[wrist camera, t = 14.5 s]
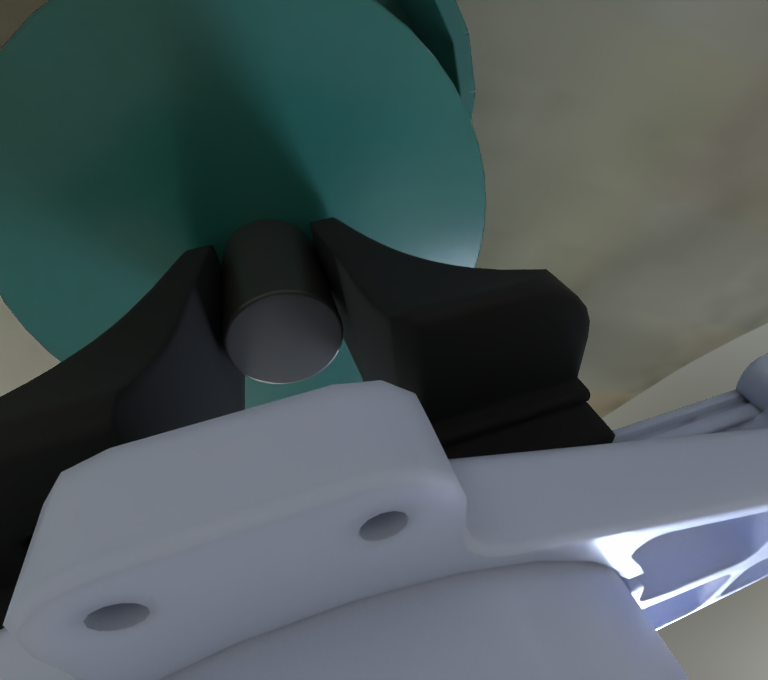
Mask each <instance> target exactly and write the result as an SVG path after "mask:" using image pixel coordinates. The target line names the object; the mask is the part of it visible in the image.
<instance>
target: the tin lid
mask: <svg viewBox="0 0 768 680" xmlns="http://www.w3.org/2000/svg"><path fill="white" fill-rule="evenodd" d="M485 208H486V195H485V177H484V170H483V164H482V159H481V154H480V148H479V144H478V141H477V138H476V135H475V132H474V129H473V126H472V123H471V120H470V117H469V114H468V112H467V110H466V108H465V106H464V104H463V102H462V100H461V98H460V96H459V94H458V92H457V90H456V88H455V85H454V84H453V82H452V81H451V79H450V78H449V76H448V75H447V73H446V72H445V71H444V69H443V68H442V66H441V65H440V63H439V62H438V60H437V59H436V57H435V56H434V55H433V53H432V52H431V51H430V50H429V49H428V48H427V47H426V46H425V45H424V44H423V42H422V41H421V40H420V39H419V38H418V37H417V36H416V35H415V34H414V33H413V31H412V30H411V29H410V28H409V27H408V26H407V25H405V24H404V23H403V22H402V21H401V20H399V19H398V18H397V17H396V16H395V15H393V14H392V13H391V12H390V11H388V10H387V9H386V8H385V7H384V6H382V5H381V4H380V3H379V2H378V1H376V0H49V1H48V2H46V3H45V4H44V5H43V6H41V7H40V8H39V9H37V10H36V11H35V12H33V13H32V14H31V15H30V16H29V17H28V18H27V20H26V21H25V22H24V23H23V24H22V25H21V26H20V28H19V29H18V30H17V31H16V32H15V33H14V34H13V35H12V37H11V38H10V39H9V40H8V41H7V42H6V43H5V45H4V46H3V47H2V48H1V50H0V296H1V297H2V299H3V301H4V302H5V304H6V305H7V306H8V308H9V309H10V310H11V311H12V313H13V314H14V315H15V316H16V318H17V319H18V320H19V322H20V323H21V324H22V325H23V327H24V328H25V329H26V330H27V331H28V332H29V333H30V334H31V335H32V336H33V337H34V338H35V339H36V340H37V341H38V342H39V343H40V344H41V345H42V346H43V347H44V348H45V349H46V350H47V351H48V352H49V353H50V354H52V355H53V356H54V357H56V358H57V359H58V360H59V361H61V362H62V361H64V360H65V359H67V358H68V357H70V356H71V355H73V354H74V353H76V352H77V351H79V350H80V349H82V348H83V347H85V346H86V345H88V344H89V343H91V342H92V341H94V340H95V339H96V338H98V337H99V336H100V335H101V334H103V333H104V332H105V331H106V330H108V329H109V328H110V327H111V326H113V325H114V324H115V323H116V322H117V321H119V320H120V319H121V318H122V317H123V316H124V315H125V314H127V313H128V312H129V311H130V310H131V309H132V308H133V307H134V306H135V305H136V304H137V303H138V302H139V301H140V300H141V299H142V298H143V297H144V296H145V295H146V294H147V293H148V292H149V291H150V290H151V289H152V288H153V287H154V285H155V284H156V283H157V282H158V281H159V280H160V279H161V278H162V276H163V275H164V274H165V273H166V272H167V271H168V270H169V269H170V267H171V266H172V265H173V264H174V263H175V262H176V261H177V259H178V258H179V257H180V256H181V255H182V254H183V253H184V252H186V251H187V250H190V249H195V248H199V247H204V246H208V245H212V244H213V246H214V249H215V251H216V254H217V256H218V259H219V261H220V264H221V266H222V304H223V346H224V350H225V353H226V355H227V357H228V359H229V360H230V362H231V363H232V364H233V366H234V367H235V368H236V369H237V370H238V371H240V372H241V373H242V374H244V375H245V409H249V408H252V407H256V406H259V405H263V404H266V403H270V402H273V401H277V400H280V399H284V398H287V397H291V396H294V395H298V394H301V393H305V392H308V391H312V390H315V389H319V388H323V387H326V386H330V385H333V384H344V383H355V382H363V379H362V377H361V375H360V373H359V370H358V368H357V366H356V364H355V362H354V360H353V358H352V356H351V353H350V351H349V349H348V347H347V345H346V343H345V341H344V339H343V335H344V328H343V323H342V320H341V317H340V314H339V312H338V309H337V306H336V303H335V301H334V298H333V295H332V293H331V290H330V287H329V284H328V282H327V279H326V276H325V274H324V271H323V268H322V266H321V263H320V260H319V257H318V255H317V252H316V248H315V243H314V239H313V235H312V230H311V226H310V222H314V221H319V220H323V219H327V218H332V217H334V218H336V219H338V220H339V221H341V222H343V223H344V224H346V225H348V226H349V227H351V228H353V229H354V230H356V231H358V232H360V233H361V234H363V235H365V236H367V237H369V238H371V239H373V240H375V241H377V242H379V243H381V244H383V245H386V246H388V247H390V248H393V249H395V250H398V251H400V252H403V253H406V254H409V255H412V256H416V257H419V258H422V259H426V260H430V261H434V262H439V263H445V264H450V265H456V266H463V267H471V268H475V265H476V262H477V259H478V256H479V252H480V247H481V242H482V237H483V232H484V222H485Z"/></svg>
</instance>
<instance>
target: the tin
mask: <svg viewBox="0 0 768 680" xmlns="http://www.w3.org/2000/svg"><path fill="white" fill-rule="evenodd" d="M376 1H378V2H379V3H380V4H381V5H382V6H384V7H385V8H386V9H387V10H388V11H390V12H391V13H392V14H393V15H395V16H396V17H397V18H398V19H399V20H401V21H402V22H403V23H404V24H405V25H407V26H408V27H409V28H410V29H411V30H412V31H413V33H414V34H415V35H416V36H417V37H418V38H419V39H420V40H421V41H422V42H423V44H424V45H425V46H426V47H427V48H428V49H429V50H430V51H431V52H432V53H433V55H434V56H435V57H436V59H437V60H438V62H439V63H440V65H441V66H442V68H443V69H444V71H445V72H446V73H447V75H448V76H449V78H450V79H451V81H452V82H453V84H454V85H455V88H456V90H457V92H458V94H459V96H460V98H461V100H462V102H463V104H464V106H465V108H466V110H467V112H468V114H469V117H470V120H471V119H472V112H473V105H474V98H475V84H474V76H473V67H472V58H471V49H470V40H469V34H468V33H467V32H468V29H467V27H466V24H465V22H464V19H463V17H462V14H461V12H460V10H459V7H458V5H457V2H456V0H376Z"/></svg>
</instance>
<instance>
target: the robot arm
mask: <svg viewBox="0 0 768 680" xmlns="http://www.w3.org/2000/svg"><path fill="white" fill-rule="evenodd" d="M310 226H311V230H312V235H313V239H314V243H315V248H316V252H317V255H318V257H319V260H320V263H321V266H322V268H323V271H324V274H325V276H326V279H327V282H328V284H329V287H330V290H331V293H332V295H333V298H334V301H335V303H336V306H337V309H338V312H339V314H340V317H341V320H342V323H343V328H344V335H343V339H344V341H345V343H346V345H347V347H348V349H349V351H350V353H351V356H352V358H353V360H354V362H355V364H356V366H357V368H358V370H359V373H360V375H361V377H362V379H363V382H355V383H344V384H333V385H330V386H326V387H323V388H319V389H315V390H312V391H308V392H305V393H301V394H298V395H294V396H291V397H287V398H284V399H280V400H277V401H273V402H270V403H266V404H263V405H259V406H256V407H252V408H249V409H245V375H244V374H242V373H241V372H240V371H238V370H237V369H236V368H235V367H234V366H233V364H232V363H231V362H230V360H229V359H228V357H227V355H226V353H225V350H224V346H223V304H222V266H221V264H220V261H219V259H218V256H217V254H216V251H215V249H214V246H213V244H212V245H208V246H204V247H199V248H195V249H190V250H187V251H186V252H184V253H183V254H182V255H181V256H180V257H179V258H178V259H177V261H176V262H175V263H174V264H173V265H172V266H171V267H170V269H169V270H168V271H167V272H166V273H165V274H164V275H163V276H162V278H161V279H160V280H159V281H158V282H157V283H156V284H155V285H154V287H153V288H152V289H151V290H150V291H149V292H148V293H147V294H146V295H145V296H144V297H143V298H142V299H141V300H140V301H139V302H138V303H137V304H136V305H135V306H134V307H133V308H132V309H131V310H130V311H129V312H128V313H127V314H125V315H124V316H123V317H122V318H121V319H120V320H119V321H117V322H116V323H115V324H114V325H113V326H111V327H110V328H109V329H108V330H106V331H105V332H104V333H103V334H101V335H100V336H99V337H98V338H96V339H95V340H94V341H92V342H91V343H89V344H88V345H86V346H85V347H83V348H82V349H80V350H79V351H77V352H76V353H74V354H73V355H71V356H70V357H68V358H67V359H65V360H64V361H62V362H61V363H59V364H58V365H56V366H55V367H53V368H52V369H50V370H48V371H47V372H45V373H43V374H41V375H40V376H38V377H36V378H34V379H33V380H31V381H29V382H28V383H26V384H24V385H22V386H20V387H18V388H16V389H14V390H13V391H11V392H9V393H7V394H5V395H3V396H1V397H0V680H689V678H688V677H687V675H686V674H685V672H684V671H683V669H682V668H681V666H680V665H679V663H678V662H677V661H676V659H675V658H674V656H673V654H672V653H671V652H670V650H669V649H668V647H667V646H666V644H665V643H664V641H663V640H662V638H661V637H660V635H659V634H658V632H657V630H659V629H661V628H663V627H665V626H667V625H669V624H671V623H673V622H675V621H677V620H679V619H681V618H683V617H685V616H687V615H689V614H691V613H693V612H695V611H697V610H699V609H701V608H703V607H706V606H707V605H709V604H711V603H714V602H716V601H718V600H719V599H722V598H724V597H726V596H728V595H730V594H732V593H734V592H736V591H738V590H740V589H742V588H744V587H746V586H748V585H750V584H752V583H754V582H756V581H759V580H761V579H763V578H765V577H767V576H768V353H767V354H765V355H763V356H761V357H759V358H757V359H756V360H755V361H754V362H752V363H751V364H750V365H749V366H748V367H747V368H746V370H745V371H744V372H743V374H742V375H741V377H740V379H739V381H738V383H737V386H736V390H733V391H730V392H727V393H724V394H721V395H718V396H715V397H712V398H709V399H706V400H703V401H700V402H697V403H694V404H691V405H688V406H685V407H682V408H679V409H676V410H673V411H670V412H667V413H664V414H661V415H658V416H655V417H652V418H649V419H646V420H643V421H640V422H637V423H634V424H631V425H628V426H625V427H622V428H619V429H616V430H613V431H612V430H611V429H610V428H609V427H608V426H607V425H606V423H605V422H604V421H603V420H602V419H601V418H600V417H599V415H598V414H597V413H596V412H595V411H594V410H593V409H592V408H591V406H590V405H589V404H588V403H587V402H586V401H588V400H589V398H590V392H589V390H588V389H587V388H586V386H585V385H584V384H583V383H582V382H581V381H580V380H579V379H578V378H577V376H578V372H579V369H580V365H581V361H582V357H583V353H584V350H585V346H586V342H587V338H588V332H589V323H590V320H589V316H588V312H587V308H586V306H585V305H584V304H583V302H582V301H581V300H580V299H579V297H578V296H577V295H576V294H575V293H573V292H572V291H571V290H570V289H569V288H568V287H566V286H565V285H564V284H563V283H562V282H561V281H559V280H558V279H557V278H556V277H555V276H554V275H553V274H551V273H550V272H549V271H548V270H546V269H540V270H496V269H482V268H471V267H463V266H456V265H450V264H445V263H439V262H434V261H430V260H426V259H422V258H419V257H416V256H412V255H409V254H406V253H403V252H400V251H398V250H395V249H393V248H390V247H388V246H386V245H383V244H381V243H379V242H377V241H375V240H373V239H371V238H369V237H367V236H365V235H363V234H361V233H360V232H358V231H356V230H354V229H353V228H351V227H349V226H348V225H346V224H344V223H343V222H341V221H339V220H338V219H336V218H334V217H332V218H327V219H323V220H319V221H314V222H310Z"/></svg>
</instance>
